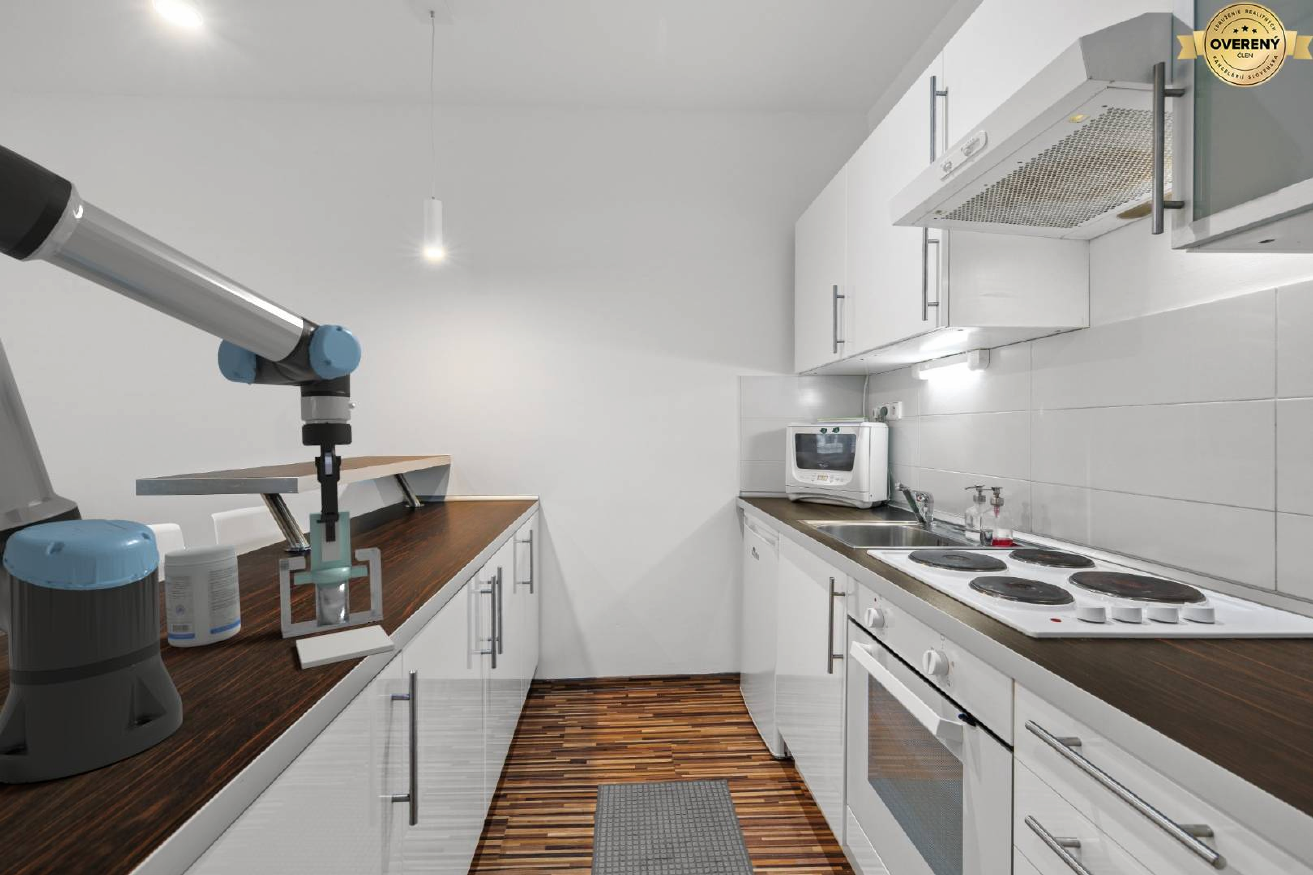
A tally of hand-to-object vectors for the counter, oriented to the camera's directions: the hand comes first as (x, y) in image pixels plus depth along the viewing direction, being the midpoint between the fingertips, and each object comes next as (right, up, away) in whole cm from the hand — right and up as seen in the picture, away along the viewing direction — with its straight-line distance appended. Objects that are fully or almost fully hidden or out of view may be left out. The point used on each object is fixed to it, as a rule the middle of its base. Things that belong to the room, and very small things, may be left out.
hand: (331, 558), depth 103 cm
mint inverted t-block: (0, -4, 0) cm, 4 cm away
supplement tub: (-18, -12, -5) cm, 22 cm away
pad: (+8, -11, -11) cm, 18 cm away
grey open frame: (0, -12, 0) cm, 12 cm away
